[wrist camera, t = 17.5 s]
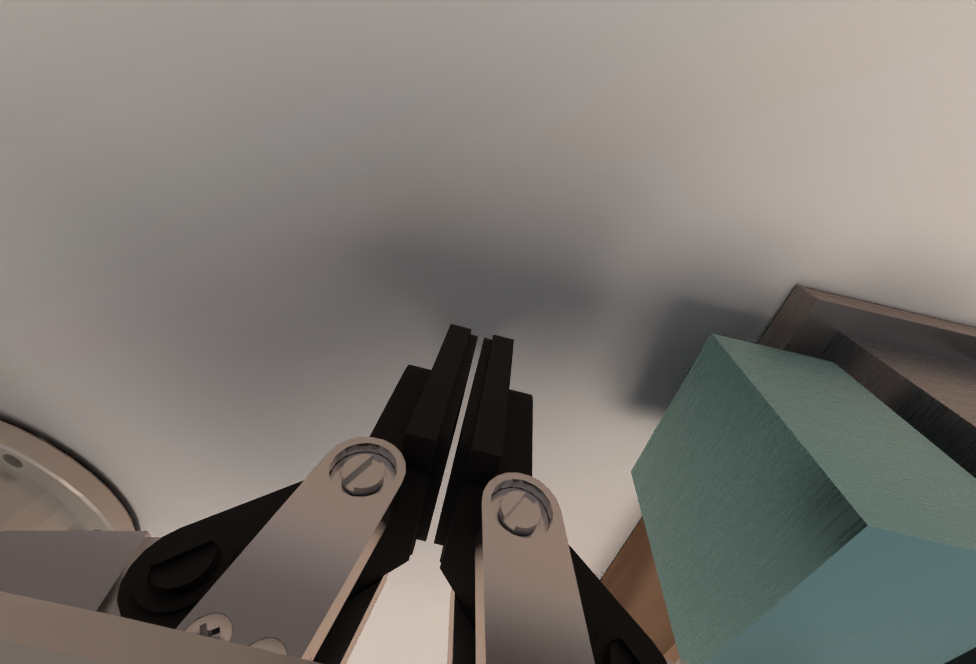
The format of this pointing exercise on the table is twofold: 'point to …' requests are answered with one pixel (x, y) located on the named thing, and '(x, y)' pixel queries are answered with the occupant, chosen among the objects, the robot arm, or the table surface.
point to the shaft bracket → (893, 365)
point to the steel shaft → (804, 519)
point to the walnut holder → (642, 590)
